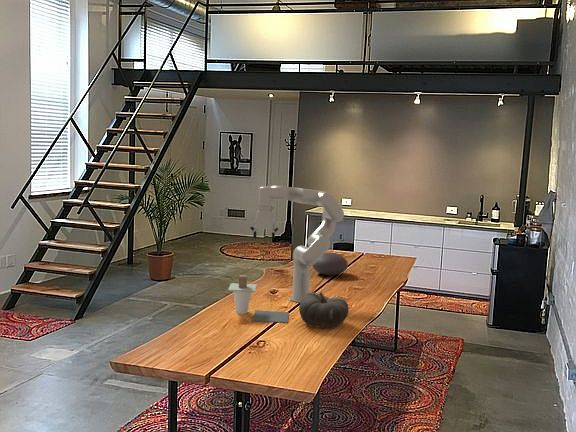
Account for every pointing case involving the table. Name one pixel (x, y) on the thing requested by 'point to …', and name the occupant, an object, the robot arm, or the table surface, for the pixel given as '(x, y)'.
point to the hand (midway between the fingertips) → (263, 239)
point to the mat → (271, 316)
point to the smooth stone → (331, 264)
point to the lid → (242, 285)
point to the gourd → (323, 310)
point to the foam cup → (241, 301)
